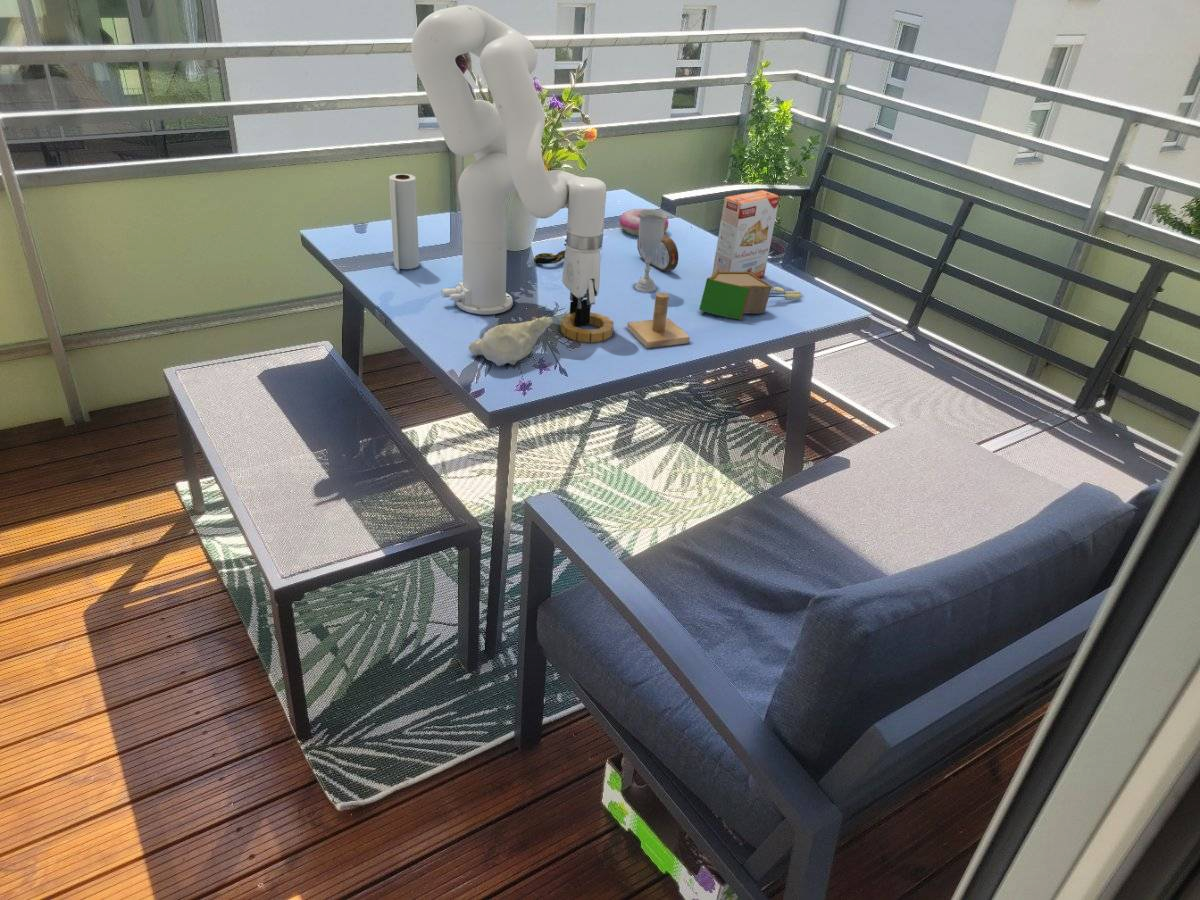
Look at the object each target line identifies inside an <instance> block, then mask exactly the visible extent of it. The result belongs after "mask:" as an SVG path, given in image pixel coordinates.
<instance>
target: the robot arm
mask: <svg viewBox="0 0 1200 900" xmlns="http://www.w3.org/2000/svg"><path fill="white" fill-rule="evenodd" d="M468 53H471V54H473V55H475V56H476V57H478V58H479V65H480V69H481V73H482V75H483V77H484V80H485V82H486V85H487V88H488V90H489V93H490V96H491V98H492V101H493V103H494V104H493V103H492V102H489V101H488V100H484V99H475V98H474V96H473V94H472V91H471V88H470V86H469V82H468V80H467V78H466V76H465V75H464V73H463V71H462V70H461V68H460V67H459V66H458V65H457V62H456V59H457V57H459V56H460V55H465V54H468ZM411 57H412V62H413V65H414V69H415V71H416V73H417V76H418V79H419V80H420V82H421V84H422V86H423V88H424V91H425V94H426V96H427V98H428V101H429V104H430V106H431V109H432V112H433V114H434V117H435V119H436V122H437V124H438V127H439V129H440V131H441V134H442V136H443V139H444V142H445V144H446V145H447V147H448V149H449V150H450V151H451V152H452V153H453V154H454V155H456V156H459V157H470V156H474V158H475V161H473V162H471V163H470V164H468V165H467V167H465V168H464V170H463V171H462V172H461V174H460V176H459V179H458V183H457V193H458V194H457V195H458V200H459V201H458V202H459V206H460V214H461V238H462V239H461V240H462V241H461V242H462V244H461V245H462V248H461V249H462V281H459V282H458V285H457V286H456V285H455V287H453V288H449V287H447V288H441V289H440V294H441V298H443V299H444V298H449V299H450V301H455V304H456V307H457V308H459V309H460V310H462V311H464V312H466V313H470V314H474V315H486V316H488V315H498V314H502V313H505V312H507V311H509V310H510V309H511V308H512V307H513V305H514V301H513V297H512V296H511V295H510V294H509V293H507V256H508V253H507V252H508V221H507V215H506V210H505V200H506V199H508V198H509V197H510V196H511V195H512V194H514V193H515V192H517V195H518V198H519V200H520V201H521V203H522V205H523V207H524V208H525V210H526V211H527V212H528V213H529V214H530V215H531V216H533V217H535V218H536V219H548V218H551V217H552V216H554V215H555V214H556V213H558V212H559V211H560V210H561V209H565V208H566V209H567V222H566V238H565V240H566V242H565V244H566V246H565V249H564V251H565V256H564V258H563V267H562V276H561V277H562V279H561V281H562V284H563V285H564V286H565V287H566V289H567V290H568V291H569V292H570V293H569V299H570V300H569V301H570V303H569V314H570V313H575V324H576V325H575V326H583V325H590V324H589V320H590V312H591V308H592V306H593V305H596V299H595V297H597V296H598V295H599V291H600V282H601V251H602V250H603V243H604V241H603V240H604V228H605V215H606V202H607V186H606V183H605V182H604V181H603V180H601V179H599V178H596V177H590V176H589V177H588V176H580V175H576V174H573V173H571V172H567V171H564V170H561V169H551V170H548V171H547V169H546V166H545V163H544V159H543V154H542V153H543V152H542V139H543V133H544V129H545V124H546V113H545V110H544V108H543V105H542V102H541V100H540V98H539V95H538V92H537V89H536V87H535V84H534V81H533V79H532V76H531V75H532V74H533V72H534V71H535V69H536V67H537V63H538V55H537V51H536V49H535V46H534V45H533V43H532V42H531V40H530V39H529V38H528V37H526V36H525V35H524V34H522V33H521V32H519V31H518V30H516V29H515V28H513V27H511V26H510V25H508V24H506V23H504V22H503V21H501V20H500V19H498V18H496V17H495V16H493V15H492V14H490V13H488V12H487V11H485V10H483V9H482V8H479V7H477V6H475V5H470V4H460V5H455V6H452V7H451V6H450V7H445V8H442V9H438V10H436V11H434V12H432V13H430V14H428V15H427V16H426V17H425V18H424V19H422V21H421V22H420V23H419V24H418V26H417V28H416V30H415V32H414V34H413V36H412V40H411Z"/></svg>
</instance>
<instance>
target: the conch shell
mask: <svg viewBox="0 0 1200 900" xmlns="http://www.w3.org/2000/svg"><path fill="white" fill-rule="evenodd" d="M552 324H554V318H553V317H552V316H542V317H538V318H537V317H536V316H533V317H532V320H526V321H522V322H517V323H516V322H515V323H503V324H498V325H496V326H493V327H491V328H489V329H488V330H487V331H485V332H484V334H483V335H482V338H480V339H475V340H474V341H473V342H471V343H469V345H468V350H469V352H470V354H472V355H473V356H474V357H477V356H483V357H484V358H485V359H486V360H487V361H490V362H493V363H494V364H495V365H496V366H497V367H500V366H504V365H506V364H509V365H511V366H515V365H516V364H517V362H518V361H522V360H523V359H525V358H526V357H527V356H530V354H531V352H532V351H533V347H534V346H535V345H536V343H537V341H538V339H539V338H540V336H542V335H543V334H544V333H545V332H546V329H547V328H549V327H550V326H551V325H552Z"/></svg>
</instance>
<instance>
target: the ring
mask: <svg viewBox="0 0 1200 900" xmlns="http://www.w3.org/2000/svg"><path fill="white" fill-rule="evenodd" d="M588 325H592V326H595V327H598V328H593V329H586V328H580V327H577V325H576V324H575V313H570V312H569V313H567V314H566V315H564V316H562V318H561V321H560V332H561V333H562V335H563V336H564V337H566V338H567V339H571V340H573V341H577V342H582V343H583V342H584V343H597V342H598V343H599V342H603V341H606V340H608V339H610V338H611V337H612V336H613V332H614V322H613V320H612V319H611V318H610V317H608V316H606V315H604V314H601V313H598V312H592V311H590V320H589V324H588Z"/></svg>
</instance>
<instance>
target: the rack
mask: <svg viewBox="0 0 1200 900" xmlns="http://www.w3.org/2000/svg"><path fill="white" fill-rule="evenodd" d="M669 300H670V294H669V293H667V292H662V291H659V292H656V293H655V298H654V307H653V315H652V319H648V320H647V319H646V320H639V321H637V320H636V321H630V322H627V325H626V329H627V330H628V331H629V332H630V333H631V334H632V335H633V337H634V338H636V340H638V341H639V342H640V343H641V344H642V345H643V346H644V348H646V349H655V348H661V347H669V346H679V345H684V344H686V345H687V344H690V339H691V338H690V336H689V334H687V333H686V332H685V331H684V330H683V329H682V328H680V327H679V326H678V325H677V324H676V323H675V322H674V321H672V319H671V318H669V317H667V316H668V309H669V308H668V307H669Z"/></svg>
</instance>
